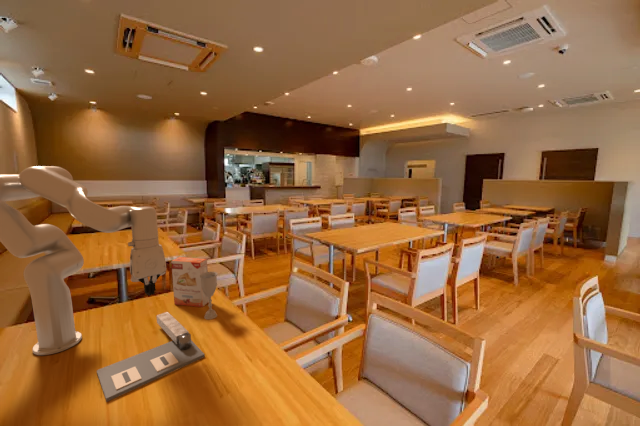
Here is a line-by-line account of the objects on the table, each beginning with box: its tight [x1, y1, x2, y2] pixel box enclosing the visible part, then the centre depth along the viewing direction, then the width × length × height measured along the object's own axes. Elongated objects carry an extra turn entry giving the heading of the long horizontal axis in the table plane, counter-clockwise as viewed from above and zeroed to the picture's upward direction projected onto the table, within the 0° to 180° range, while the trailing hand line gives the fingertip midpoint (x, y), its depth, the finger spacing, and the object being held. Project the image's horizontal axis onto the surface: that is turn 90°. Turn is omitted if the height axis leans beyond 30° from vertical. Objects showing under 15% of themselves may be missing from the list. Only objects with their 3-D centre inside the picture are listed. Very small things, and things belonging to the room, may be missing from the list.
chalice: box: [200, 271, 218, 320], centre depth 118 cm, size 7×7×18 cm
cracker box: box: [171, 256, 209, 308], centre depth 128 cm, size 14×6×21 cm, turn 81°
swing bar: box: [156, 311, 192, 350], centre depth 103 cm, size 4×24×4 cm, turn 46°
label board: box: [96, 339, 206, 403], centre depth 89 cm, size 15×26×1 cm, turn 135°
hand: (150, 293), depth 100 cm, fingers closed
